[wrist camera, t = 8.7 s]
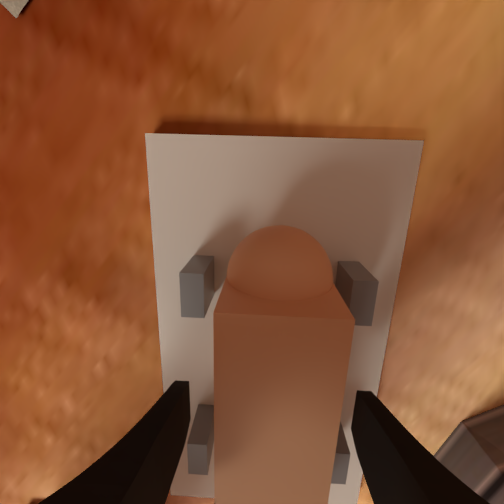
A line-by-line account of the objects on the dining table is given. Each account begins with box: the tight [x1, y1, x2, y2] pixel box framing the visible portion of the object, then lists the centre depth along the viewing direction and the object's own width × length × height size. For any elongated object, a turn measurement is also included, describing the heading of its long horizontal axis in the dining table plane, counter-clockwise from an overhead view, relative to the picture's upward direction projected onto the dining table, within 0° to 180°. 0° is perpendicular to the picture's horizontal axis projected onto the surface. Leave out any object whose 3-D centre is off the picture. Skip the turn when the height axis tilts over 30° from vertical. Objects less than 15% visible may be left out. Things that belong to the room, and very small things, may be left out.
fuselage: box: [213, 225, 355, 504], centre depth 12 cm, size 14×4×6 cm, turn 178°
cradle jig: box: [145, 133, 424, 504], centre depth 15 cm, size 22×12×3 cm, turn 178°
